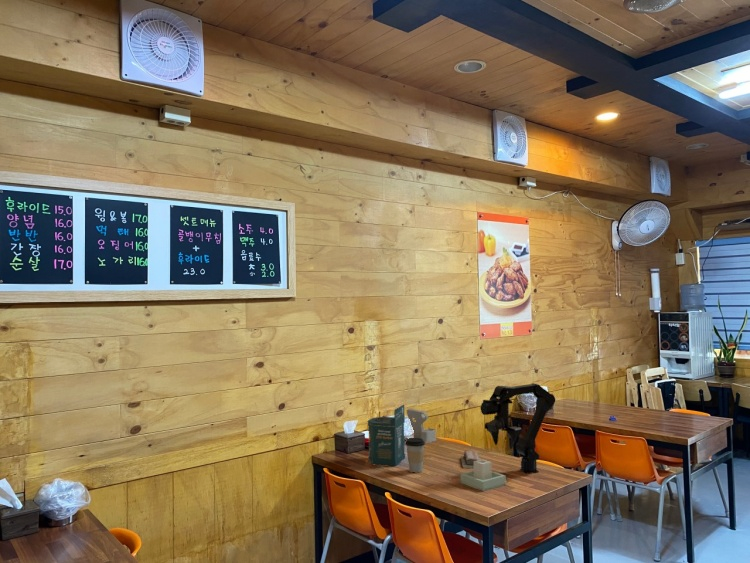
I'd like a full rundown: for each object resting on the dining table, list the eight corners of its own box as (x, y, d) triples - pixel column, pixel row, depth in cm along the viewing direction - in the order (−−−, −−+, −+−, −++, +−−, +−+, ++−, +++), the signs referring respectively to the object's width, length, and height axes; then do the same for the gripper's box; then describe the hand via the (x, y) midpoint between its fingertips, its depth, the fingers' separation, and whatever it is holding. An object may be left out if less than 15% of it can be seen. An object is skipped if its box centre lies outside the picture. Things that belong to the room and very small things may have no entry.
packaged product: (460, 449, 295) (479, 449, 294) (460, 459, 294) (479, 459, 293) (462, 459, 277) (483, 459, 276) (462, 469, 276) (483, 469, 276)
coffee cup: (428, 469, 275) (427, 438, 276) (421, 475, 266) (420, 442, 267) (409, 467, 279) (409, 436, 279) (402, 472, 270) (402, 441, 271)
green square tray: (482, 477, 262) (482, 468, 262) (505, 484, 251) (505, 475, 251) (460, 482, 254) (460, 473, 254) (483, 491, 242) (483, 481, 243)
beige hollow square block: (482, 479, 256) (482, 459, 256) (491, 482, 252) (491, 461, 252) (473, 481, 253) (473, 461, 253) (483, 484, 248) (482, 464, 249)
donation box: (395, 466, 281) (394, 409, 282) (365, 463, 286) (364, 408, 287) (405, 458, 296) (404, 404, 297) (376, 455, 301) (375, 402, 302)
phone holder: (437, 440, 332) (437, 409, 333) (425, 443, 326) (424, 412, 327) (417, 435, 346) (416, 405, 346) (404, 438, 339) (404, 408, 340)
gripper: (476, 412, 269) (476, 445, 269) (505, 418, 254) (506, 453, 253) (492, 409, 276) (493, 441, 275) (522, 415, 260) (523, 449, 260)
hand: (503, 446), depth 266 cm, fingers open, 9 cm apart
